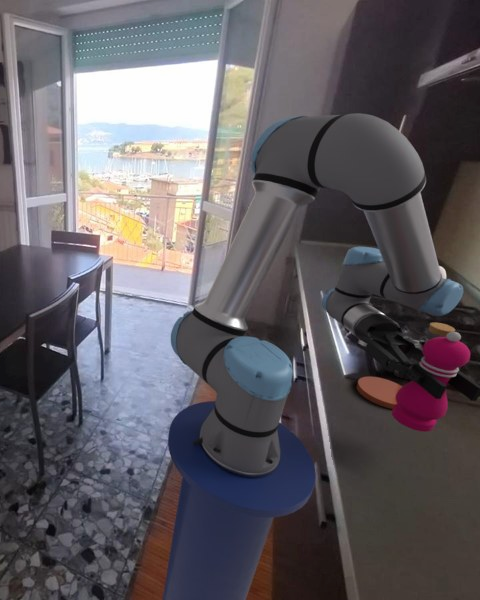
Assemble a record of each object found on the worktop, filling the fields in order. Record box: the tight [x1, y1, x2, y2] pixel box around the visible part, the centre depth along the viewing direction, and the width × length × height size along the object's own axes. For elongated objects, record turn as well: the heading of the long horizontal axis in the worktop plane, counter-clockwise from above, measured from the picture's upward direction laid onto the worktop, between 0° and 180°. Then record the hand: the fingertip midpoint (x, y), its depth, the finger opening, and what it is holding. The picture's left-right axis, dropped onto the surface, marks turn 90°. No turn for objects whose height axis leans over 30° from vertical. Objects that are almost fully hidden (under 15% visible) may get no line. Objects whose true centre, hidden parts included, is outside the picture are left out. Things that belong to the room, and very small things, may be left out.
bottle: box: [409, 321, 456, 365], centre depth 93 cm, size 6×6×15 cm
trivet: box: [356, 376, 403, 410], centre depth 89 cm, size 11×11×2 cm
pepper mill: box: [391, 331, 471, 433], centre depth 66 cm, size 7×7×20 cm
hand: (459, 393), depth 61 cm, fingers closed on pepper mill, 5 cm apart
